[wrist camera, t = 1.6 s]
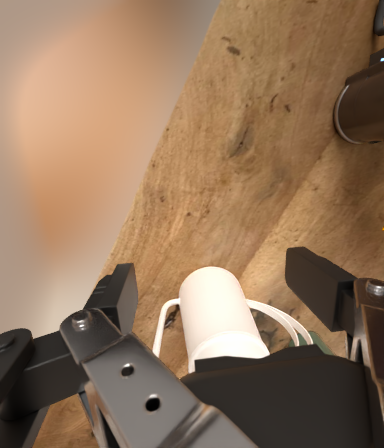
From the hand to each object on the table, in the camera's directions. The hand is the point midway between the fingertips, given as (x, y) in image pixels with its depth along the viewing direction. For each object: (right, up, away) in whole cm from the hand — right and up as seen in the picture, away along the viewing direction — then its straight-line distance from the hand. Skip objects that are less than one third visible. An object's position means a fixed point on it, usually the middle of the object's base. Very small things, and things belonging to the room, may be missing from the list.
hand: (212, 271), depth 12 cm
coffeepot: (+1, -10, +28) cm, 30 cm away
